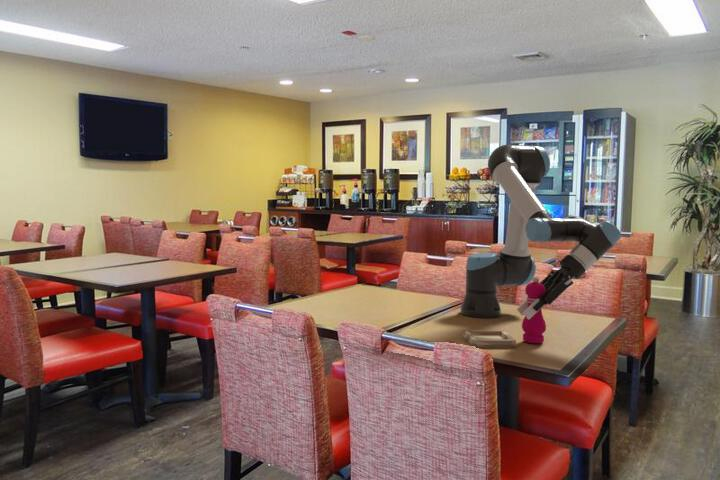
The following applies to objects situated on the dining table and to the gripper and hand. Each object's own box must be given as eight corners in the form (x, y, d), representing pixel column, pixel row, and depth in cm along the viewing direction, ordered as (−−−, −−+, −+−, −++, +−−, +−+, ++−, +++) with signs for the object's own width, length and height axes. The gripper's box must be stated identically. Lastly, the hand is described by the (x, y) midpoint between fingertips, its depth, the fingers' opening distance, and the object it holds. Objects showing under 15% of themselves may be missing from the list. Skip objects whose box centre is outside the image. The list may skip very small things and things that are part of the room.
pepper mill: (517, 337, 181) (520, 275, 179) (539, 337, 181) (542, 275, 180) (526, 343, 174) (529, 278, 172) (549, 343, 174) (552, 279, 172)
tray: (463, 336, 183) (463, 330, 183) (503, 337, 183) (503, 330, 183) (472, 347, 170) (473, 340, 170) (515, 347, 171) (516, 340, 170)
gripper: (598, 275, 167) (540, 330, 168) (573, 267, 185) (521, 316, 186) (581, 257, 166) (523, 312, 167) (557, 250, 184) (505, 300, 185)
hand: (522, 314), depth 177 cm, fingers closed on pepper mill, 5 cm apart
